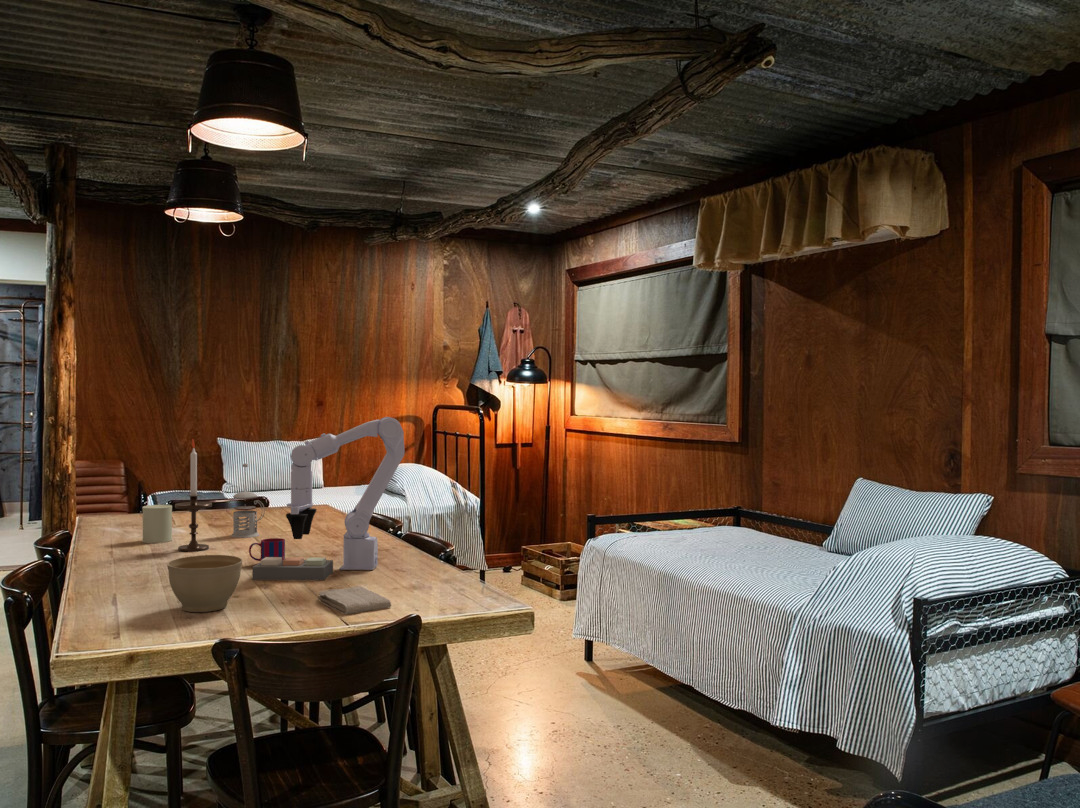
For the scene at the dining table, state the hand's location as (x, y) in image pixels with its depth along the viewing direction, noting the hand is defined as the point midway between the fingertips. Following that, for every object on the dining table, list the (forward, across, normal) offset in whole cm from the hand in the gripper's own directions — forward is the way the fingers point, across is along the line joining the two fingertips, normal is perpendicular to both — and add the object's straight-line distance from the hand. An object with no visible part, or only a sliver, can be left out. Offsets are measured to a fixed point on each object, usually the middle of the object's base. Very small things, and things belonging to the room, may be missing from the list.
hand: (301, 536), depth 244 cm
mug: (+10, -9, -12) cm, 18 cm away
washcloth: (+10, +38, +23) cm, 45 cm away
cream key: (+7, +8, -6) cm, 12 cm away
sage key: (+7, +8, +6) cm, 12 cm away
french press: (+10, -58, -35) cm, 68 cm away
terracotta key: (+7, +8, 0) cm, 11 cm away
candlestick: (+10, -31, -43) cm, 53 cm away
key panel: (+9, +8, 0) cm, 12 cm away
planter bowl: (+10, +43, -10) cm, 45 cm away
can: (+10, -46, -61) cm, 77 cm away
